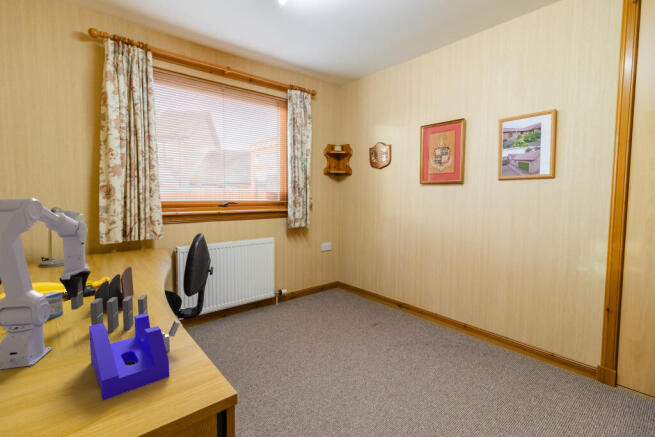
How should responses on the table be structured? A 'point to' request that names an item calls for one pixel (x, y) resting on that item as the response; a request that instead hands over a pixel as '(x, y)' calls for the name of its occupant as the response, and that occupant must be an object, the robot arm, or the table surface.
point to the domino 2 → (96, 312)
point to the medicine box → (54, 303)
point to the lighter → (170, 334)
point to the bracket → (128, 358)
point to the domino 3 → (112, 314)
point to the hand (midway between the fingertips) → (76, 294)
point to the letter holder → (116, 289)
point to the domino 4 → (128, 312)
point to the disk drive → (85, 292)
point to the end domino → (142, 305)
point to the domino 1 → (77, 298)
